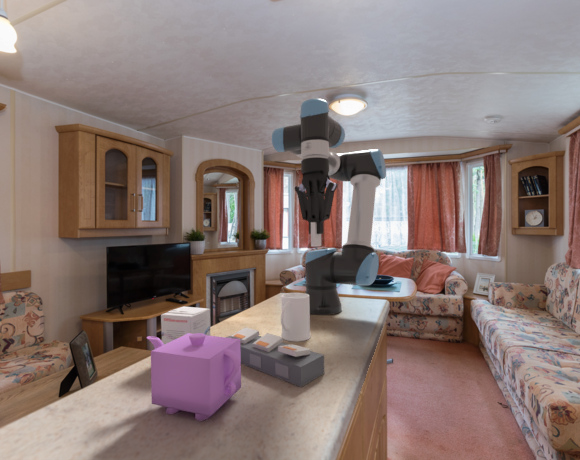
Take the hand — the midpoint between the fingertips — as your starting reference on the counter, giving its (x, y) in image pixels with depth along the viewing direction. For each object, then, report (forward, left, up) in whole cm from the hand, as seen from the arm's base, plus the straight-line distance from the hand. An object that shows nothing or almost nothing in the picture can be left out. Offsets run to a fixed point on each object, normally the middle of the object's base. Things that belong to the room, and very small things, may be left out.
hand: (316, 246), depth 90 cm
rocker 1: (+18, -9, -21) cm, 29 cm away
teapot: (+39, 0, -27) cm, 47 cm away
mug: (+1, -8, -27) cm, 28 cm away
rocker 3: (+18, +7, -21) cm, 29 cm away
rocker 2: (+18, -1, -21) cm, 28 cm away
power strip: (+18, -4, -26) cm, 32 cm away
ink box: (+28, -19, -27) cm, 43 cm away
